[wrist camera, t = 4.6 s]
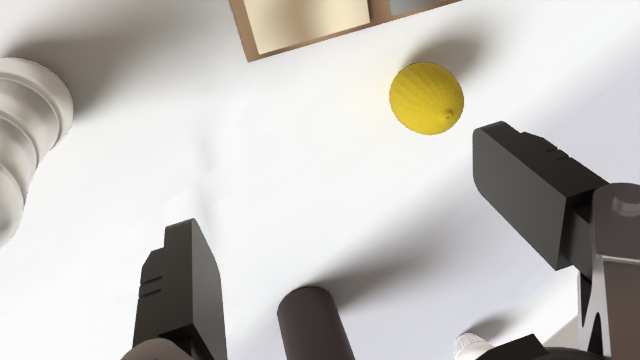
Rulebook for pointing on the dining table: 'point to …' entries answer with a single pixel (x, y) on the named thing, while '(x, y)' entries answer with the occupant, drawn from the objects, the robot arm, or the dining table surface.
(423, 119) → the lemon
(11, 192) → the plastic bottle
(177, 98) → the dining table surface
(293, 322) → the vinegar
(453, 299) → the dining table surface
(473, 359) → the muffin
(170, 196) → the dining table surface
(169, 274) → the robot arm
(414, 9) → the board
